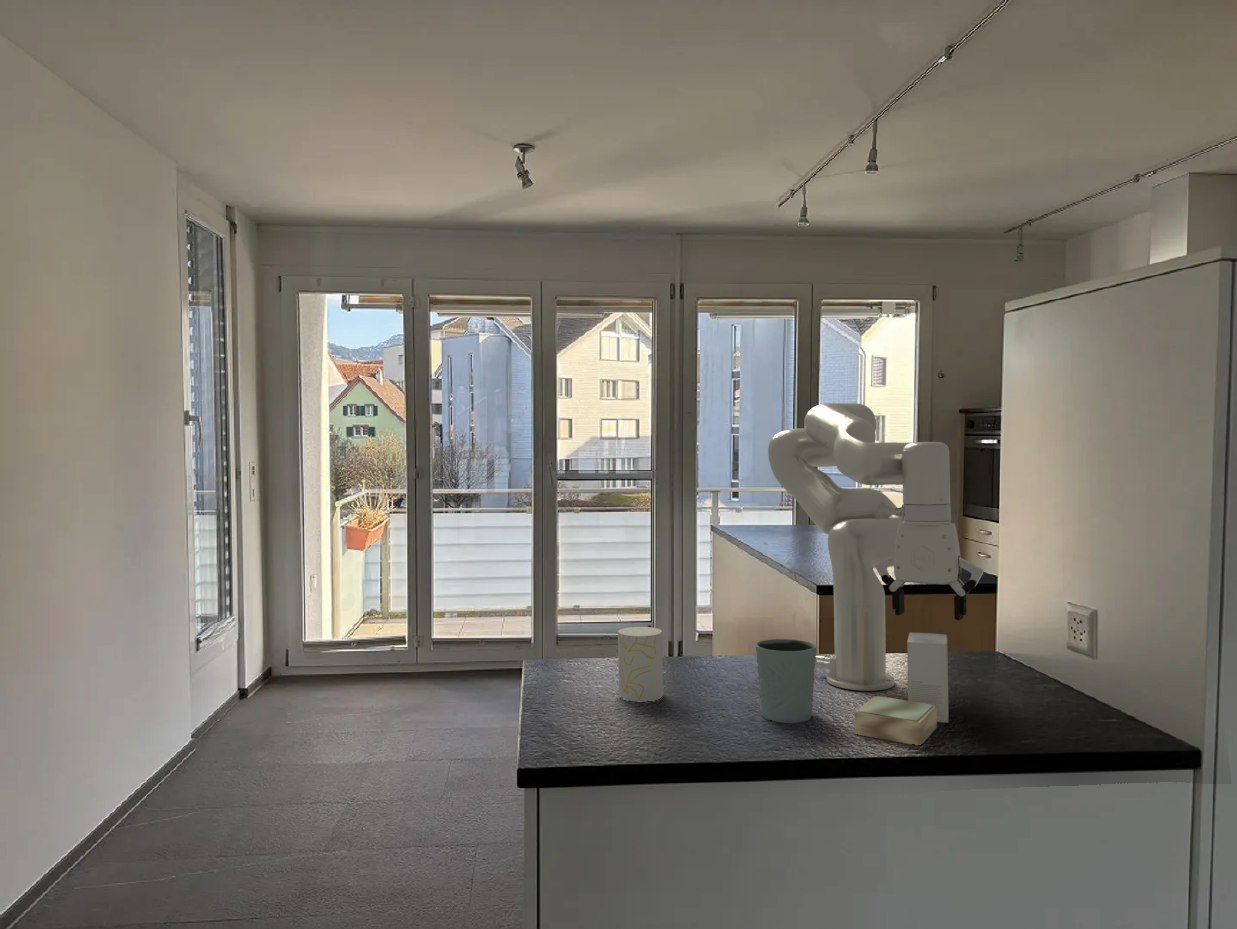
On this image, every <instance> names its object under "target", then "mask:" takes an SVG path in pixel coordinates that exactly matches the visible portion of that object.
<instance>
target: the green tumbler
mask: <svg viewBox="0 0 1237 929" xmlns="http://www.w3.org/2000/svg"><path fill="white" fill-rule="evenodd" d="M754 646H755V653H756V654H755V656H756V663H757V679H758V693H759V694H758V695H759V708H760V714H761V716H762V718H764V719H765V720H768V721H770V720H772V721H771V722H774V723H775V722H776V723H781V724H782V723H783V724H798V723H803V722H807V721H809V720H811V718H812V715H813V699H814V687H815V686H814V684H815V667H816V664H815V659H816V656H817V645H816V644H815V643H813V642H810V641H804V640H801V639H800V640H799V639H788V638H776V639H775V638H773V639H764V640H760V641H758V642H756V643H755V645H754Z"/></svg>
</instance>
